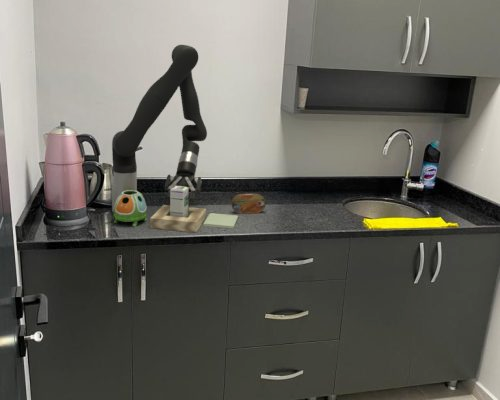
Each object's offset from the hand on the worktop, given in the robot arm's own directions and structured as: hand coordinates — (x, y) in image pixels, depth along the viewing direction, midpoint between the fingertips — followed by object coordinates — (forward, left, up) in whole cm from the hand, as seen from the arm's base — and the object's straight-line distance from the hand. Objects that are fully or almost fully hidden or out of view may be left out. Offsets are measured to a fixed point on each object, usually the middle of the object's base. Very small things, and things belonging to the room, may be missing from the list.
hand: (180, 199), depth 197 cm
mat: (+16, +6, -9) cm, 19 cm away
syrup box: (0, 0, -10) cm, 10 cm away
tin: (+25, +22, -10) cm, 34 cm away
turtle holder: (-19, -2, -10) cm, 22 cm away
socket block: (0, 0, -9) cm, 9 cm away
